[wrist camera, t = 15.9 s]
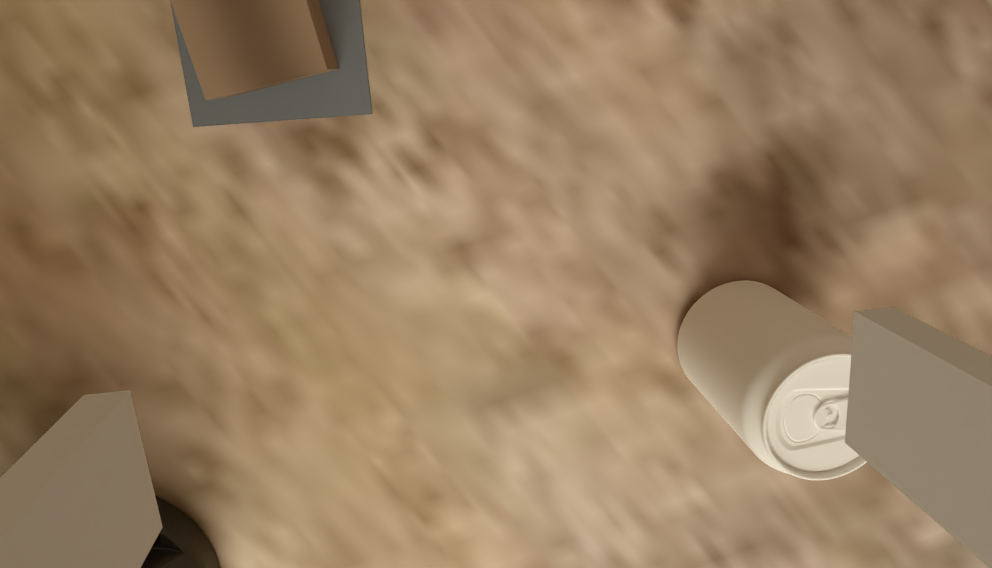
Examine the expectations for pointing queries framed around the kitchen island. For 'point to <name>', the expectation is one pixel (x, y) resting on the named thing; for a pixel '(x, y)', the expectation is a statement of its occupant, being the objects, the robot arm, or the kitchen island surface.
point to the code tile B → (300, 97)
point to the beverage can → (773, 376)
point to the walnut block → (254, 43)
